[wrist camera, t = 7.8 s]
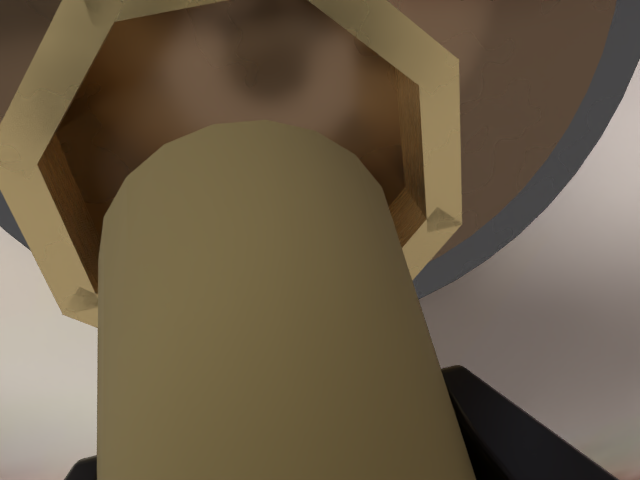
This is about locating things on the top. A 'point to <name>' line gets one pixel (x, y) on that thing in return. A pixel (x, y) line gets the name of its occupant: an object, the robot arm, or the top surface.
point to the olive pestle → (263, 320)
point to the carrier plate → (308, 109)
